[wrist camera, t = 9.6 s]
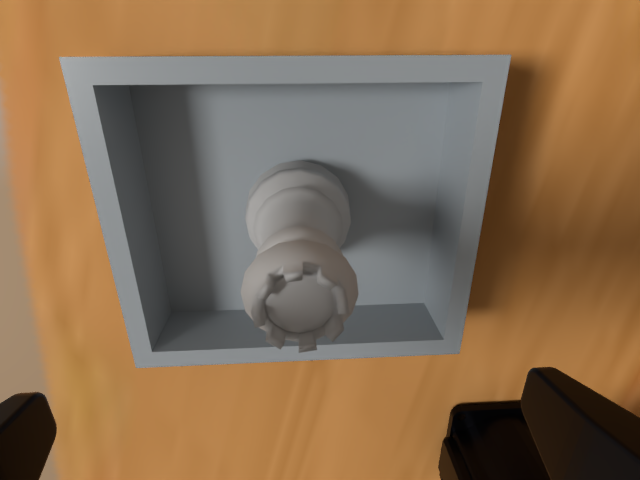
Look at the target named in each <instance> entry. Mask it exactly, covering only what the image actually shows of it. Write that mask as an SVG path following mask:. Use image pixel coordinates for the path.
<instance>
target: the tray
mask: <svg viewBox="0 0 640 480" xmlns="http://www.w3.org/2000/svg"><path fill="white" fill-rule="evenodd" d="M59 59H60V63H61V67H62V71H63V75H64V79H65V83H66V87H67V91H68V95H69V100H70V104H71V108H72V112H73V116H74V120H75V124H76V128H77V132H78V136H79V140H80V144H81V148H82V152H83V156H84V160H85V164H86V168H87V172H88V176H89V180H90V184H91V188H92V192H93V196H94V200H95V204H96V208H97V212H98V216H99V220H100V224H101V228H102V232H103V237H104V241H105V245H106V249H107V253H108V257H109V261H110V265H111V269H112V273H113V277H114V281H115V285H116V289H117V293H118V297H119V301H120V305H121V309H122V313H123V317H124V321H125V325H126V329H127V333H128V337H129V341H130V345H131V349H132V353H133V357H134V361H135V365H136V368H147V367H169V366H192V365H215V364H237V363H260V362H283V361H305V360H328V359H351V358H373V357H396V356H419V355H442V354H459V353H460V347H461V341H462V336H463V330H464V324H465V318H466V313H467V307H468V301H469V295H470V290H471V284H472V278H473V272H474V267H475V261H476V255H477V249H478V244H479V238H480V232H481V226H482V221H483V215H484V209H485V203H486V197H487V192H488V186H489V180H490V174H491V169H492V163H493V157H494V151H495V146H496V140H497V134H498V128H499V123H500V117H501V111H502V105H503V100H504V94H505V88H506V82H507V77H508V71H509V65H510V59H511V55H377V56H169V57H59ZM299 160H301V161H306V162H310V163H314V164H318V165H321V166H323V167H324V168H326V169H327V170H328V171H330V172H331V173H332V174H334V175H335V176H336V177H338V179H339V180H340V182H341V184H342V185H343V187H344V189H345V191H346V192H347V194H348V199H349V206H350V216H351V224H350V227H349V230H348V233H347V236H346V240H345V242H344V244H343V245H342V246H341V247H340V248H339V249H340V250H341V252H342V253H343V256H344V257H345V258H346V259H347V261H348V262H349V264H350V266H351V267H352V269H353V270H354V272H355V274H356V275H357V284H358V293H359V295H358V298H357V301H356V304H355V307H354V309H353V312H352V314H351V315H350V316H349V317H348V318H347V319H346V321H345V322H344V323H343V326H344V330H343V332H342V333H341V334H340V335H339V336H338V337H337V338H336V339H335V340H334V341H333V342H332V341H331V340H330V339H329V338H328V337H326V335H324V336H322V337H320V338H318V339H316V346H317V350H315V351H308V352H301V353H299V342H296V341H291V340H285V343H284V345H283V347H282V348H281V350H280V349H278V348H277V347H275V346H273V345H271V344H269V343H268V342H266V341H265V340H266V331H264V330H262V329H261V328H259V327H257V328H255V327H254V323H253V320H252V319H251V318H250V316H249V315H248V314H247V313H246V311H245V308H244V304H243V300H242V296H241V287H242V282H243V278H244V273H245V271H246V270H247V268H248V267H249V266H250V264H251V263H252V262H253V261H254V259H255V258H256V255H257V251H258V249H257V248H256V246H255V245H254V243H253V242H252V241H251V239H250V237H249V234H248V229H247V225H246V220H245V214H246V205H247V200H248V195H249V191H250V189H251V188H252V187H253V185H254V184H255V182H256V181H257V180H258V178H259V177H260V175H261V174H263V173H264V172H266V171H268V170H269V169H271V168H273V167H274V166H276V165H277V164H279V163H286V162H292V161H299Z"/></svg>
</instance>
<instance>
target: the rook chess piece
mask: <svg viewBox="0 0 640 480" xmlns="http://www.w3.org/2000/svg"><path fill="white" fill-rule="evenodd" d="M245 220H246V225H247V229H248V234H249V237H250V239H251V241H252V242H253V243H254V245H255V246H256V248H257V249H258V251H257V255H256V258H255V259H254V261H253V262H252V263H251V264H250V266H249V267H248V268H247V270H246V271H245V273H244V278H243V282H242V287H241V296H242V300H243V304H244V308H245V311H246V313H247V314H248V315H249V316H250V318H251V319H252V320H253V323H254V327H255V328H257V327H259V328H261V329H262V330H264V331H266V340H265V341H266V342H268V343H269V344H271V345H273V346H275V347H277V348H278V349H280V350H281V348H282V347H283V345H284V343H285V340H291V341H296V342H299V353H301V352H308V351H315V350H317V346H316V339H318V338H320V337H322V336H324V335H326V337H328V338H329V339H330V340H331V341H332V342H333V341H334V340H335V339H336V338H337V337H338V336H339V335H340V334H341V333H342V332H343V330H344V326H343V323H344V322H345V321H346V319H347V318H348V317H349V316H350V315H351V314H352V312H353V309H354V307H355V304H356V301H357V298H358V295H359V293H358V284H357V275H356V274H355V272H354V270H353V269H352V267H351V266H350V264H349V262H348V261H347V259H346V258H345V257H344V256H343V253H342V252H341V250H340V249H339V248H340V247H341V246H342V245H343V244H344V242H345V240H346V236H347V233H348V230H349V227H350V224H351V216H350V206H349V199H348V194H347V192H346V191H345V189H344V187H343V185H342V184H341V182H340V180H339V179H338V177H336V176H335V175H334V174H332V173H331V172H330V171H328V170H327V169H326V168H324V167H323V166H321V165H318V164H314V163H310V162H306V161H301V160H299V161H292V162H286V163H279V164H277V165H276V166H274V167H273V168H271V169H269V170H268V171H266V172H264V173H263V174H261V175H260V177H259V178H258V180H257V181H256V182H255V184H254V185H253V187H252V188H251V189H250V191H249V195H248V200H247V205H246V214H245Z"/></svg>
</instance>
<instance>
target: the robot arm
mask: <svg viewBox="0 0 640 480" xmlns="http://www.w3.org/2000/svg"><path fill="white" fill-rule="evenodd" d="M56 431H57V427H56V422H55V419H54V417H53V414H52V412H51V409H50V406H49V404H48V401H47V399H46V397H45V395H43V394H42V393H39V392H33V393H19V394H15V395H13V396H11V397H10V398H8V399H7V400H5V401H3V402H2V403H0V480H39V478H40V475H41V473H42V471H43V468H44V466H45V463H46V460H47V458H48V455H49V453H50V450H51V448H52V445H53V443H54V440H55V437H56ZM438 468H439V471H440V478H441V480H640V418H639V417H638V416H636V415H634V414H633V413H631V412H629V411H627V410H626V409H624V408H622V407H621V406H619V405H617V404H615V403H614V402H612V401H610V400H609V399H607V398H605V397H604V396H602V395H600V394H598V393H597V392H595V391H593V390H592V389H590V388H588V387H587V386H585V385H583V384H581V383H580V382H578V381H576V380H575V379H573V378H571V377H570V376H568V375H566V374H564V373H563V372H561V371H559V370H558V369H556V368H553V367H539V368H532V369H531V370H530V371H529V372H528V375H527V379H526V382H525V386H524V390H523V393H522V397H521V403H503V404H483V405H463V406H456V407H454V408H453V409H452V410H451V412H450V418H449V424H448V429H447V435H446V437H445V438H444V440H443V442H442V448H441V454H440V460H439V466H438Z"/></svg>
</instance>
